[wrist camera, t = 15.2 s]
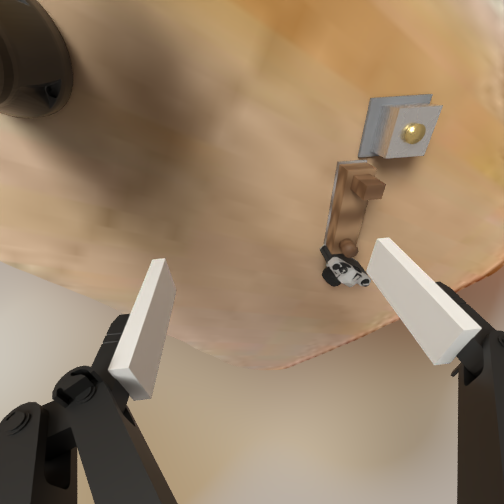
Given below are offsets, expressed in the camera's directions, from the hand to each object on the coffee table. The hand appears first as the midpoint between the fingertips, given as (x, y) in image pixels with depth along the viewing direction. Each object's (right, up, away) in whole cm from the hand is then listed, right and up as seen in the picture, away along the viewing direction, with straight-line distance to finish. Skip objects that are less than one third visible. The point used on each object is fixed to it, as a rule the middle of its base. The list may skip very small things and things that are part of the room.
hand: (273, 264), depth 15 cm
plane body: (+18, +10, +34) cm, 40 cm away
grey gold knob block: (+23, +22, +25) cm, 41 cm away
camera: (+19, -2, +43) cm, 48 cm away
